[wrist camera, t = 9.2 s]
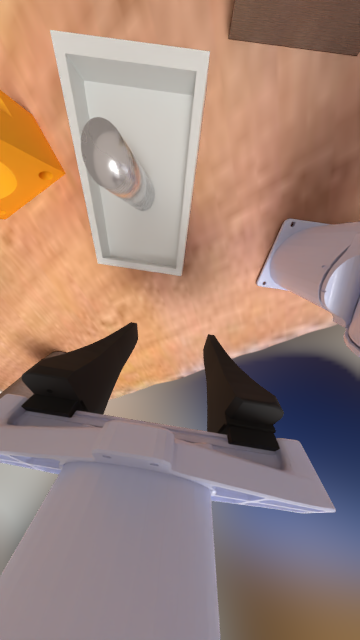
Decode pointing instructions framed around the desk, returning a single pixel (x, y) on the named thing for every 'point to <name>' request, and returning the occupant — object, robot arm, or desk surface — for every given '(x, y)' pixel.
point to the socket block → (299, 24)
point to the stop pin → (115, 164)
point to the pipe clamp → (23, 158)
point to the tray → (138, 139)
